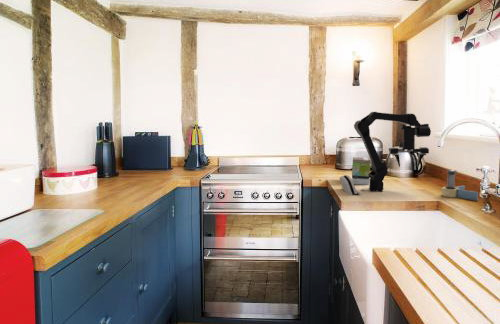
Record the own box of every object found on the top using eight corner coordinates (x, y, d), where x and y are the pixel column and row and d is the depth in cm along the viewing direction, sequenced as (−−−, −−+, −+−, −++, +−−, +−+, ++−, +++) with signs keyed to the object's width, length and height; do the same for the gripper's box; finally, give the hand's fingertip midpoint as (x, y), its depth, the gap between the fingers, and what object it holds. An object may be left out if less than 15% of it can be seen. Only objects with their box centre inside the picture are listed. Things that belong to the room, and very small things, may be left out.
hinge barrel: (448, 199, 178) (448, 191, 177) (437, 191, 196) (437, 184, 196) (478, 200, 175) (478, 192, 175) (464, 193, 194) (464, 185, 193)
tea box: (369, 185, 216) (370, 159, 214) (351, 184, 218) (352, 159, 216) (368, 180, 230) (369, 157, 228) (351, 180, 233) (352, 156, 231)
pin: (448, 196, 184) (450, 170, 182) (443, 195, 188) (445, 169, 187) (456, 196, 185) (458, 170, 183) (451, 194, 189) (452, 169, 187)
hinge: (360, 195, 188) (354, 176, 186) (351, 198, 188) (345, 179, 187) (351, 188, 204) (346, 171, 203) (343, 191, 204) (338, 174, 203)
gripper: (425, 136, 201) (425, 164, 203) (389, 137, 207) (389, 164, 208) (429, 137, 190) (428, 167, 192) (390, 138, 196) (390, 167, 198)
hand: (408, 166), depth 198 cm, fingers open, 9 cm apart
